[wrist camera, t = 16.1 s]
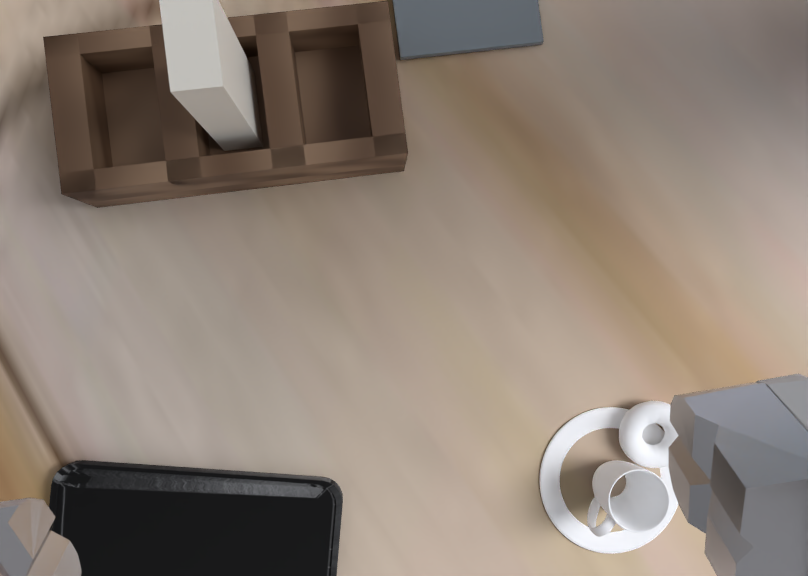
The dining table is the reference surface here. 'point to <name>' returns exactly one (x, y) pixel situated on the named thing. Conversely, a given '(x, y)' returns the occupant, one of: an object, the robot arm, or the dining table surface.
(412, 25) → the mat
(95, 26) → the dining table surface
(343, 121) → the rack
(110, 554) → the phone
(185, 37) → the block
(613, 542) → the teacup and saucer
